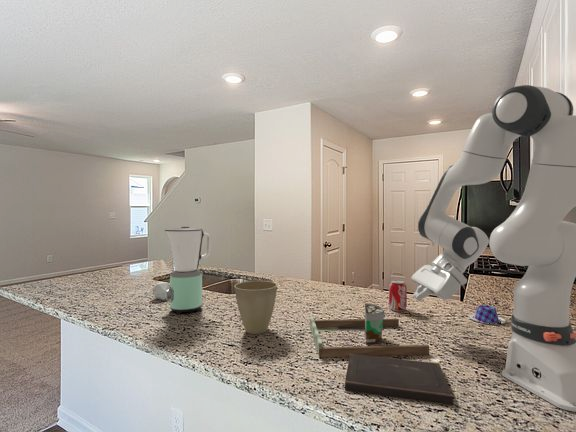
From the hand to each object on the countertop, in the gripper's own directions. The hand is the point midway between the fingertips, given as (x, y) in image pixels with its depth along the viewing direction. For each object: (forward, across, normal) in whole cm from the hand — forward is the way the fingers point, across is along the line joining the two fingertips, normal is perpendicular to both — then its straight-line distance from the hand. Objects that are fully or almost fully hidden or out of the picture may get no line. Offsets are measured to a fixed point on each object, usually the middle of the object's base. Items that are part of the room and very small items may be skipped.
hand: (415, 298), depth 106 cm
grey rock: (+81, -52, -60) cm, 113 cm away
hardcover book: (+21, +26, -2) cm, 33 cm away
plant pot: (+47, -9, -28) cm, 55 cm away
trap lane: (+22, +1, -3) cm, 22 cm away
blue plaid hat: (-15, -15, +34) cm, 40 cm away
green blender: (+69, -34, -48) cm, 90 cm away
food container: (+19, +1, 0) cm, 19 cm away
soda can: (+6, -29, +14) cm, 33 cm away
